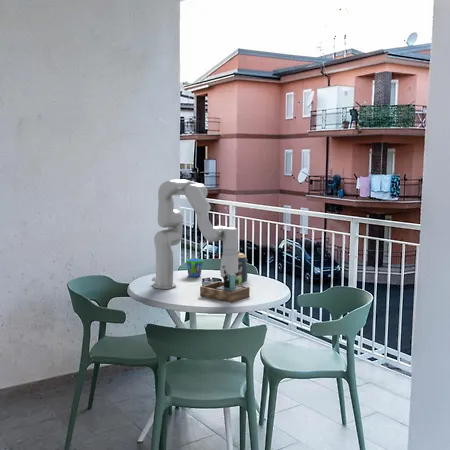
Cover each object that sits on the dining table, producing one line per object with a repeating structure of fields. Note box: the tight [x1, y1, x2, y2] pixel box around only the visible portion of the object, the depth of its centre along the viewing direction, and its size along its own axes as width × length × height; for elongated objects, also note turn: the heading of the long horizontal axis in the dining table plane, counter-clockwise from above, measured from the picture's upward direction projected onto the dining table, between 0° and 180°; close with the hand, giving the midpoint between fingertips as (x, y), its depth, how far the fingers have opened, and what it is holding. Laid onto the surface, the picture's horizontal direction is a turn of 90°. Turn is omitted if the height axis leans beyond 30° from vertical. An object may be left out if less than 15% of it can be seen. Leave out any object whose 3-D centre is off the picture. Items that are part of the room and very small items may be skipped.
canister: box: [238, 250, 249, 282], centre depth 304 cm, size 13×13×18 cm
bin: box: [199, 281, 250, 304], centre depth 266 cm, size 20×16×5 cm
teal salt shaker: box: [224, 273, 235, 290], centre depth 263 cm, size 4×4×9 cm
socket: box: [216, 286, 243, 292], centre depth 264 cm, size 10×10×4 cm
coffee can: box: [235, 262, 243, 286], centre depth 284 cm, size 10×10×14 cm
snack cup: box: [185, 257, 204, 278], centre depth 311 cm, size 16×10×10 cm
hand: (229, 286), depth 264 cm, fingers closed on teal salt shaker, 4 cm apart
